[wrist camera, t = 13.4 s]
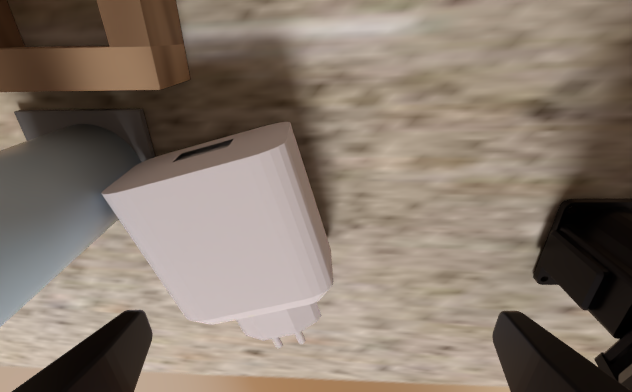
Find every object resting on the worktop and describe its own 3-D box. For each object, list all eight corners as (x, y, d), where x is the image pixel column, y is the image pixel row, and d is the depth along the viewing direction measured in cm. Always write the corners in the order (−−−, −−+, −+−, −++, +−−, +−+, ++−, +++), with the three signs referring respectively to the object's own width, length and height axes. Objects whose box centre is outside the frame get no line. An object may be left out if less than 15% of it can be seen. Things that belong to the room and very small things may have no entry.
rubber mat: (142, 108, 18) (138, 110, 17) (170, 216, 21) (168, 219, 20) (20, 110, 18) (14, 111, 17) (66, 217, 21) (62, 220, 21)
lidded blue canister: (111, 103, 17) (-235, 217, 6) (170, 199, 20) (-7, 393, 9) (19, 138, 18) (-415, 286, 7) (87, 225, 21) (-161, 428, 10)
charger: (237, 327, 25) (140, 159, 19) (350, 304, 24) (290, 117, 17) (223, 387, 21) (90, 198, 14) (358, 362, 20) (284, 145, 13)
